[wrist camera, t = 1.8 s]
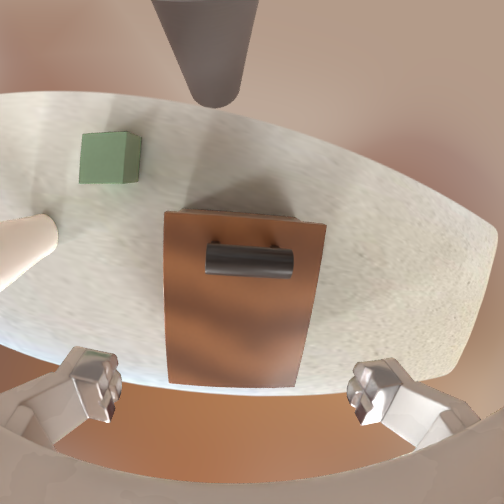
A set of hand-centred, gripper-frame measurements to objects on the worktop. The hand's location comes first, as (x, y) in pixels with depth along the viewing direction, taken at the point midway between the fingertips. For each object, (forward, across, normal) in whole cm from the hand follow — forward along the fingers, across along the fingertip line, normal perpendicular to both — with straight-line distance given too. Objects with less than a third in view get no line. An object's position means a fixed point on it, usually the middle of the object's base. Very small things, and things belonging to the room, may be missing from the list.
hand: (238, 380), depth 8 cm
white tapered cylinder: (+24, +24, +2) cm, 34 cm away
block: (+24, +13, -7) cm, 28 cm away
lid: (+15, -1, +5) cm, 16 cm away
